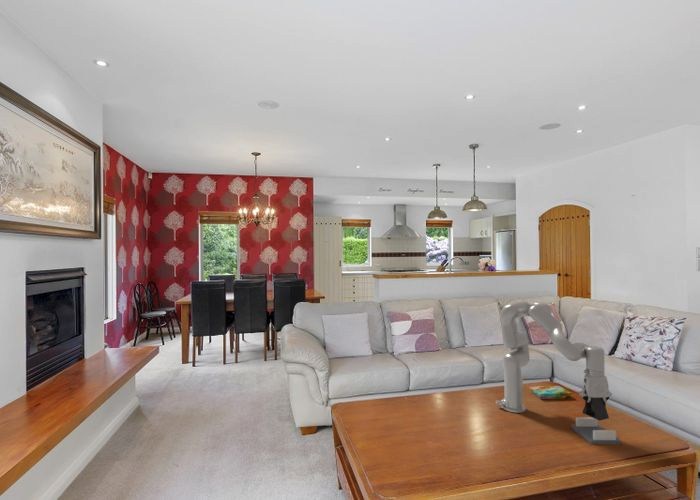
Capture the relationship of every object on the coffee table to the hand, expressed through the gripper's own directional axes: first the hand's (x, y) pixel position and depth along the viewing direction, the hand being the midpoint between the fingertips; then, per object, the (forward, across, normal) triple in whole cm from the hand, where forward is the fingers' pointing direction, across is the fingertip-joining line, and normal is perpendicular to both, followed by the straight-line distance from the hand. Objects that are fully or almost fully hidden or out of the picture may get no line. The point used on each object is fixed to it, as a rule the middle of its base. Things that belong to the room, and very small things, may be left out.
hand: (595, 409), depth 181 cm
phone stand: (+3, 0, 0) cm, 3 cm away
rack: (+13, 0, 0) cm, 13 cm away
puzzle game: (+13, +4, +49) cm, 51 cm away
